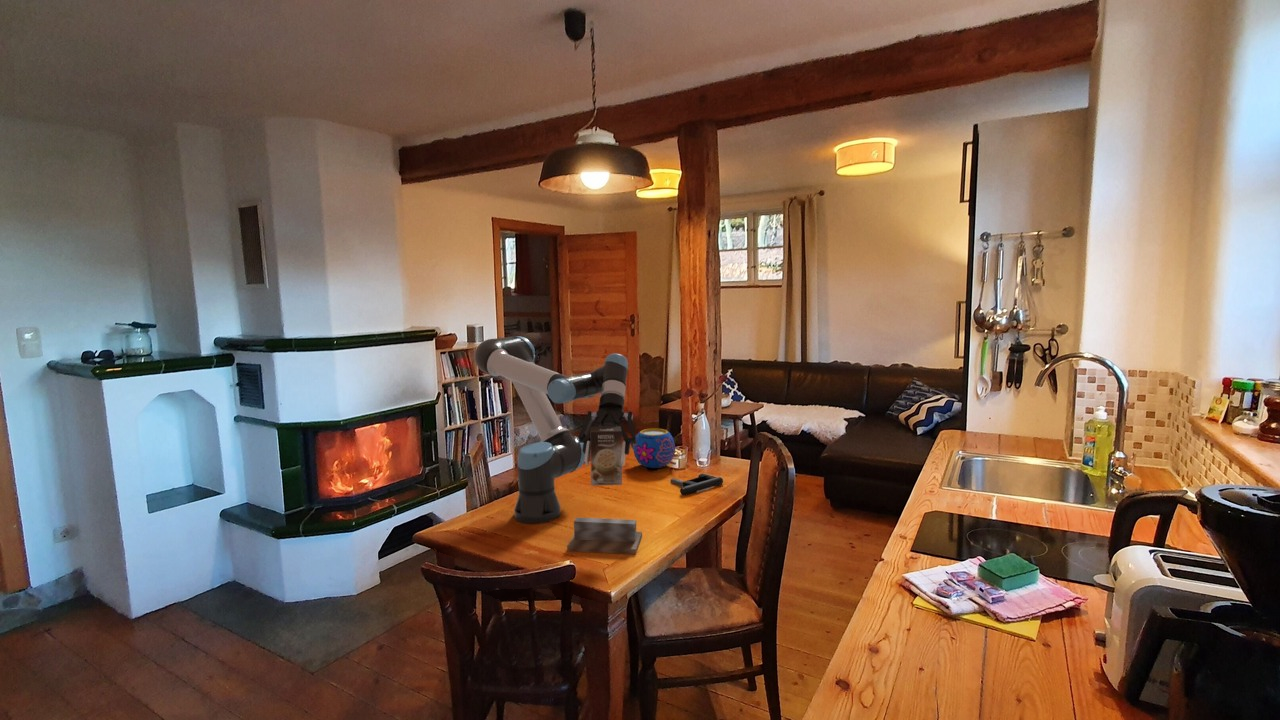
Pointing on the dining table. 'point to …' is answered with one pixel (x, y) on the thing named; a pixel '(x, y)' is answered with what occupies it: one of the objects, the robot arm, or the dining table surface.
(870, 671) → the dining table surface
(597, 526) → the ridge stand
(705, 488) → the door handle
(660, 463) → the ceramic pot
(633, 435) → the robot arm
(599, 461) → the coffee box
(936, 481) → the dining table surface
